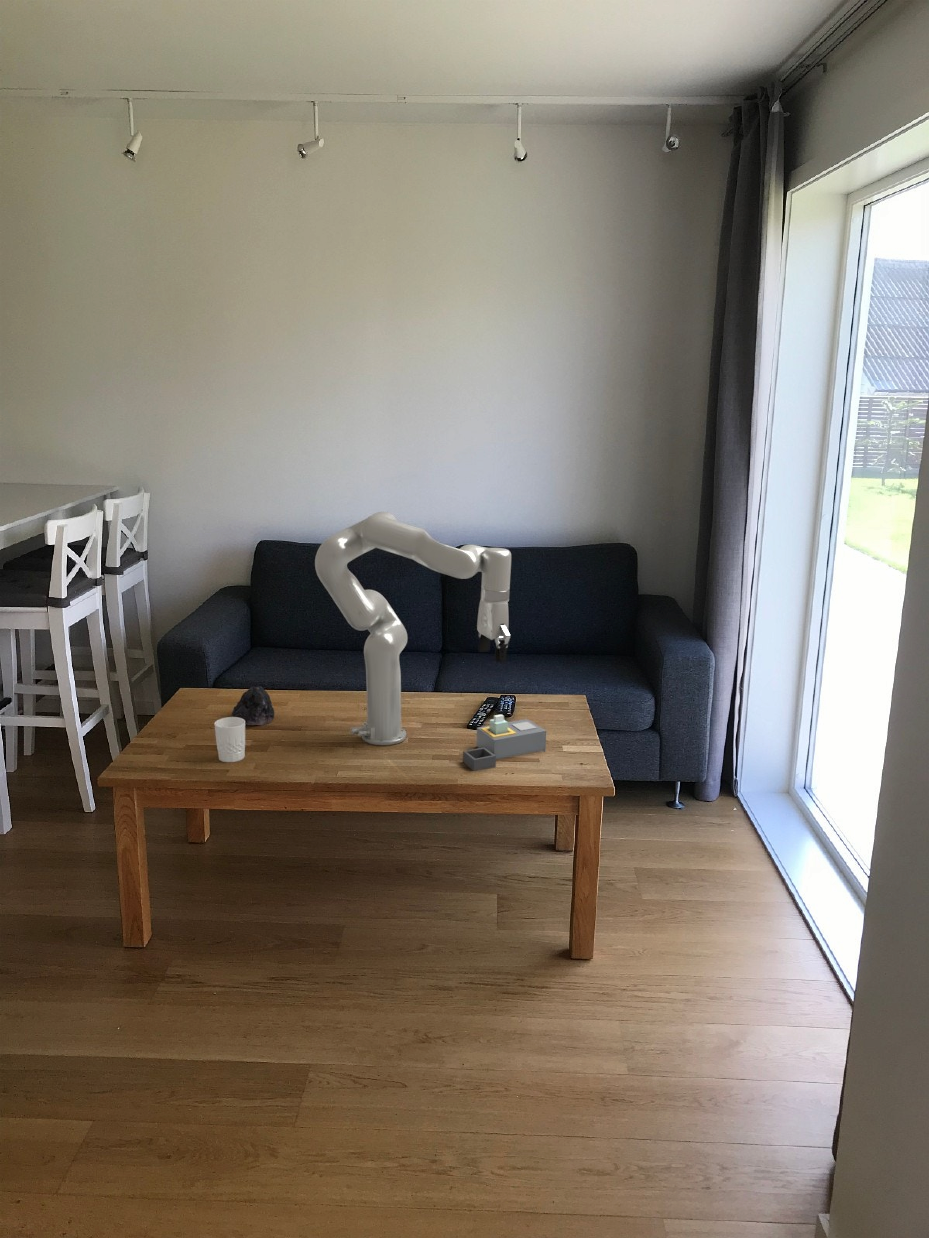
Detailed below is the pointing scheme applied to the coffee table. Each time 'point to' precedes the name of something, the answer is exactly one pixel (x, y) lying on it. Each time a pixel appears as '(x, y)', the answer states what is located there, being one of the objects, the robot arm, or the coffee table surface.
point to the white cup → (230, 739)
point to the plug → (498, 725)
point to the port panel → (513, 739)
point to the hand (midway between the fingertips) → (492, 656)
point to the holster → (479, 759)
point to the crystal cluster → (254, 707)
